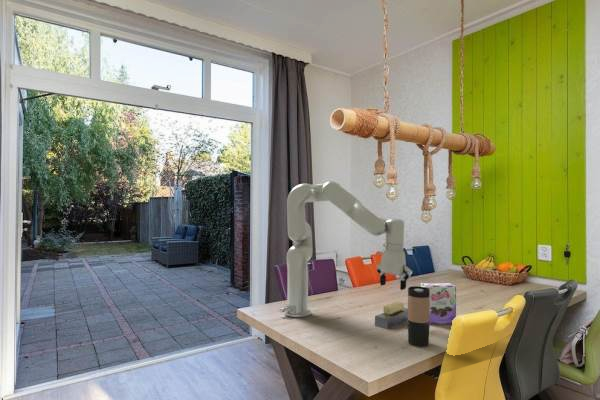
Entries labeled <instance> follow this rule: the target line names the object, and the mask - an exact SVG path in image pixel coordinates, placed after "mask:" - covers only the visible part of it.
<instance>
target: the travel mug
mask: <svg viewBox="0 0 600 400" xmlns="http://www.w3.org/2000/svg"><path fill="white" fill-rule="evenodd" d="M407 309H408V321H407V340H408V341H407V342H408V344H409V345H410V346H412V347H417V348H426V346H427V347H429V344H430V325H431V324H430V290H429V289H428V288H425V287H420V286H417V285H416V286H415V285H413V286H408V287H407Z"/></svg>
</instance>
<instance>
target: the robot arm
mask: <svg viewBox="0 0 600 400" xmlns="http://www.w3.org/2000/svg"><path fill="white" fill-rule="evenodd" d="M318 202H329V203H331V204H332V205H334V206H335V207H336V208H337V209H338V210H340V211H341V212H343V213H344V214H345V215H346V216H347V217H348V218H350V219H351V220H352V221H354V222H355V223H356V224H358V226H360V228H362V229H364V230H365V232H368V233H369V234H370V235H372V236H375V237H379V236H381V235H385V242H384V243H383V244H382V246H383V247H384V249H383V250H382V254H381V260H380V263H377V264H376V265H375V268H376V272H377V273H378V274H379V276H380V278H379V279H380V280H379V284H380V286H386V285H387V284H386V283H387V282H386V281H387V280H386V279H387V275H392V276H399V278H400V279H401V280H400V282H399V283H400V286H399V287H400V288H399V289H400V290H401V291H404V290H406V288H407V280H409V278H411V276H412V274H413V270H411V269H410V268H409V267H408V266H407V263H406V262H407V261H406V253H405V251H404V241H405V239H404V236H405V221H404V220H403V219H400V218H399V219H398V218H382V217H378V216H377V215H375V213H373V212H371V211H370V210H369V209H368V208H367V207H366V206H364V205H363V203H362V202H361V201H360V199H358V198H357V197H356V196H354V195H353V194H352V193H350V192H349V191H347V190H346V189H345V188H344V187H342V186H341V185H340V184H339V183H338V182H336V181H334V180H329V181H327V182H325V183H318V184H317V183H315V184H310V183H307V182H306V183H300V184H298V185H296V186H295V187H293V188H292V189H291V191H289V193H288V196H287V199H286V214H287V215H286V216H287V217H286V219H287V222H286V223H287V224H286V225H287V236H288V238H289V240H291V241H292V244H293V245H292V246H290V248H289V249H288V251H287V253H286V258H285V259H286V268H287V290H286V291H287V295H286V297H287V299H286V300H287V301H286V302H287V303H285V306H284V307H280V308H279V313H283V315H285V316H288V317H292V318H305V317H309V316H310V315H311V314H312V310H311V309H309V266H308V262H309V261H310V260H311V258H312V256H313V233H312V227H311V225H310V224H309V223H308V222H307V221H306V220H307V219H306V208H305V206H306V203H318ZM406 272H407V274H406Z"/></svg>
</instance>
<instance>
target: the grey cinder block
mask: <svg viewBox="0 0 600 400" xmlns="http://www.w3.org/2000/svg"><path fill="white" fill-rule="evenodd" d="M405 322H408V307H407V308H405V307H404V309H402V312H401V313H398V312H394V316H387V315H385V312H383V313H379V314H377V315H375V316H374V326H376V327H379V328H382V329H386V330H389V329H391V328H394V327H396V326H399V325H400V324H403V323H405Z"/></svg>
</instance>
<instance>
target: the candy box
mask: <svg viewBox="0 0 600 400" xmlns="http://www.w3.org/2000/svg"><path fill="white" fill-rule="evenodd" d="M419 285H420V286H419V287H425V288H428V289H429V290H430V325H453V324H452V320H453V319H454V318H455V317H456V318H457V286H456V285H455V284H453V283H450V282H447V283H446V282H444V283H443V282H441V283H439V282H437V283H434V282H433V283H427V282H426V283H424V282H420V284H419Z"/></svg>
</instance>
